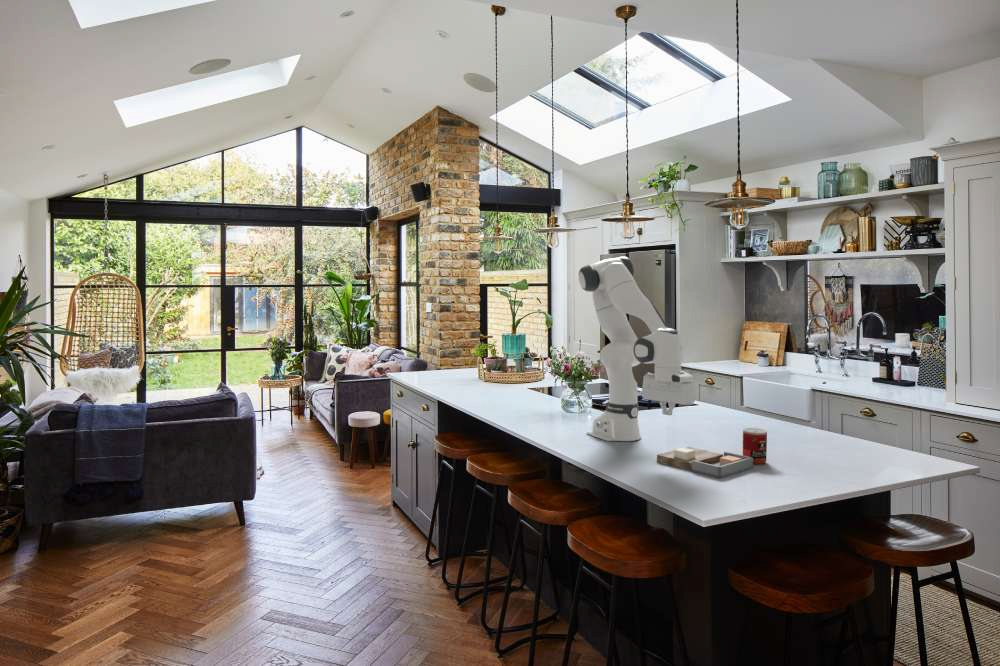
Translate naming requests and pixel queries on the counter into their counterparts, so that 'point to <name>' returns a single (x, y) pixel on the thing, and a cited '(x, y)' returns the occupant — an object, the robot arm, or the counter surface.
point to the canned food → (755, 444)
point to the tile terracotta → (728, 460)
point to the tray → (723, 466)
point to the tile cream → (684, 453)
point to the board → (687, 464)
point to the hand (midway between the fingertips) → (667, 414)
